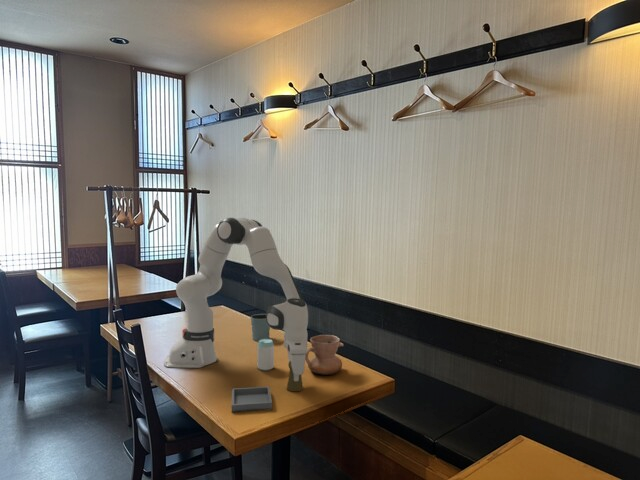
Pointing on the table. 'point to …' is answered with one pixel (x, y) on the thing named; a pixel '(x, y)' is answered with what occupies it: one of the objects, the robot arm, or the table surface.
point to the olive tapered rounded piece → (293, 384)
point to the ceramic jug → (324, 355)
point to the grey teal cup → (259, 327)
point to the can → (265, 354)
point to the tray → (251, 399)
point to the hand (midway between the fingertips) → (294, 377)
